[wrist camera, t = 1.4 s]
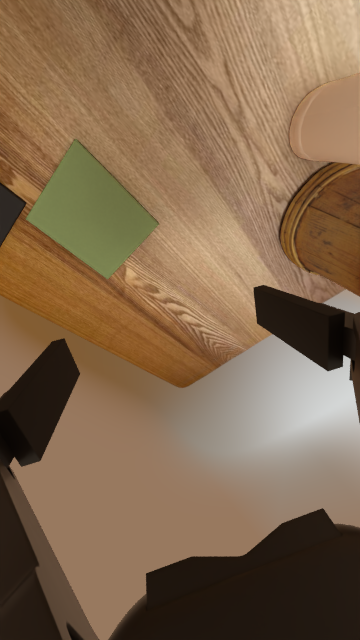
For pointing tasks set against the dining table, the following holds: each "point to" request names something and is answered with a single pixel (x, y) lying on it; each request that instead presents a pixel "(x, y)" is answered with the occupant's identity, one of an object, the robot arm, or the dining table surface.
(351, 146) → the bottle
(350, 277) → the tankard
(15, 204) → the charcoal mat
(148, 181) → the dining table surface
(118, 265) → the sage mat
